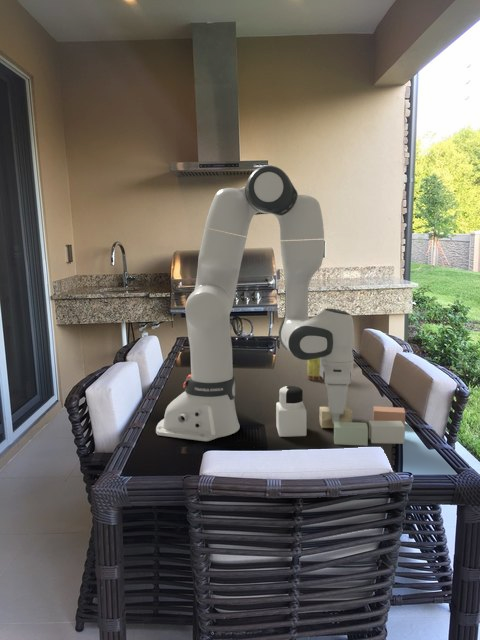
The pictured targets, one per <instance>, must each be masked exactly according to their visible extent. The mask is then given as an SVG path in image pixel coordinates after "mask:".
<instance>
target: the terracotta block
mask: <svg viewBox="0 0 480 640" xmlns="http://www.w3.org/2000/svg"><path fill="white" fill-rule="evenodd" d="M372 409H373V412H372V413H373V415H372V421H402V423H403V424H404V426H405V427H406V411H405V408H404V407H393V406H392V407H391V406H374V405H373V408H372Z"/></svg>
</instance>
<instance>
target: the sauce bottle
mask: <svg viewBox="0 0 480 640" xmlns="http://www.w3.org/2000/svg"><path fill="white" fill-rule="evenodd" d="M306 361H307V363H306V364H307V365H306V366H307V369H306V370H307V373H306V375H307V380H309V381H312V382H320V381H324V379H323V378H322V377H321V376H320V358H316V359H310V360H306Z"/></svg>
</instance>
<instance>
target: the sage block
mask: <svg viewBox="0 0 480 640" xmlns="http://www.w3.org/2000/svg"><path fill="white" fill-rule="evenodd" d="M368 440H369V426H368V424H367V422H353V421H352V422H334V428H333V443H334V445H345V446H346V445H347V446H366V447H367V446H368V445H369V444H368V443H369V442H368Z"/></svg>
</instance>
